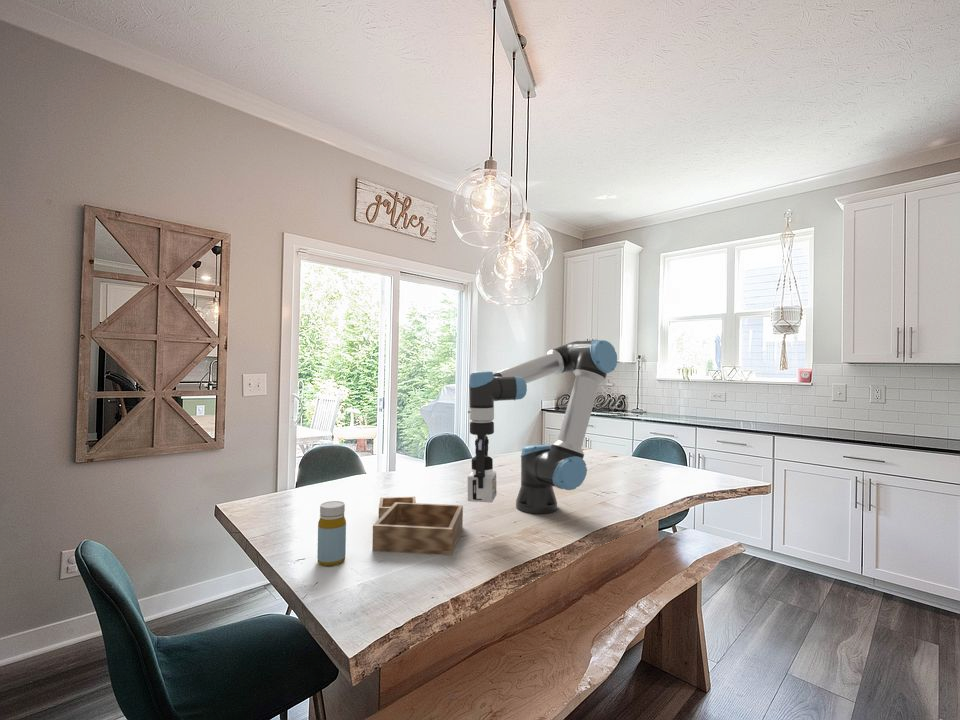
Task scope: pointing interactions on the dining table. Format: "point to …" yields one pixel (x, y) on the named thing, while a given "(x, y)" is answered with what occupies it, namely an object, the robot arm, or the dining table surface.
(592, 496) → the dining table surface
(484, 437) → the robot arm
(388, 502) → the small crate
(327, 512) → the bottle
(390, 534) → the crate
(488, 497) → the container
